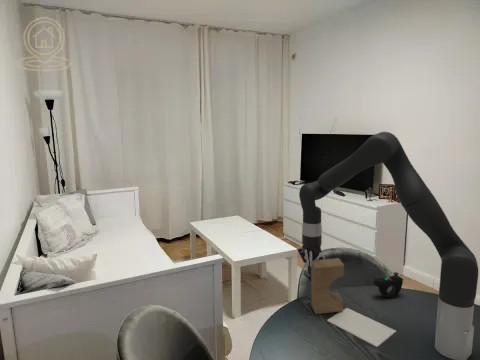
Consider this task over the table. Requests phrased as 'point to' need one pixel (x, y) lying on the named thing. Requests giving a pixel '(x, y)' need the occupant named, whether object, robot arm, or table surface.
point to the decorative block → (325, 285)
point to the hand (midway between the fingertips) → (311, 274)
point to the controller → (387, 282)
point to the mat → (362, 327)
